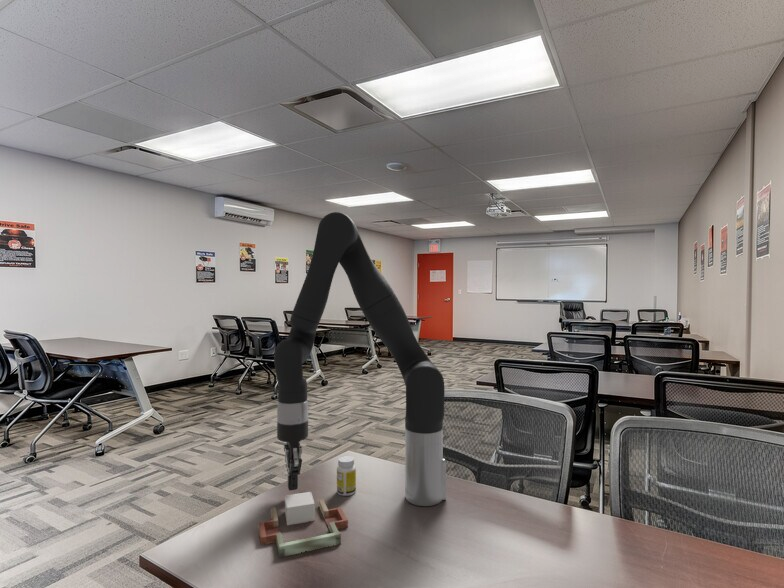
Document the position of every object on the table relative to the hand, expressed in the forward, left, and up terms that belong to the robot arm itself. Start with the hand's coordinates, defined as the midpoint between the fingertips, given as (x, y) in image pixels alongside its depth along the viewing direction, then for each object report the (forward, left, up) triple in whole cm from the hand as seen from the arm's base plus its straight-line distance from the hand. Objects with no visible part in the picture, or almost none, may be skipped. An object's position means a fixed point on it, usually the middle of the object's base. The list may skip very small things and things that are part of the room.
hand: (292, 488), depth 106 cm
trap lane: (0, +15, -2) cm, 15 cm away
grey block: (0, +10, -2) cm, 10 cm away
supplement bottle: (-13, +2, -2) cm, 13 cm away
